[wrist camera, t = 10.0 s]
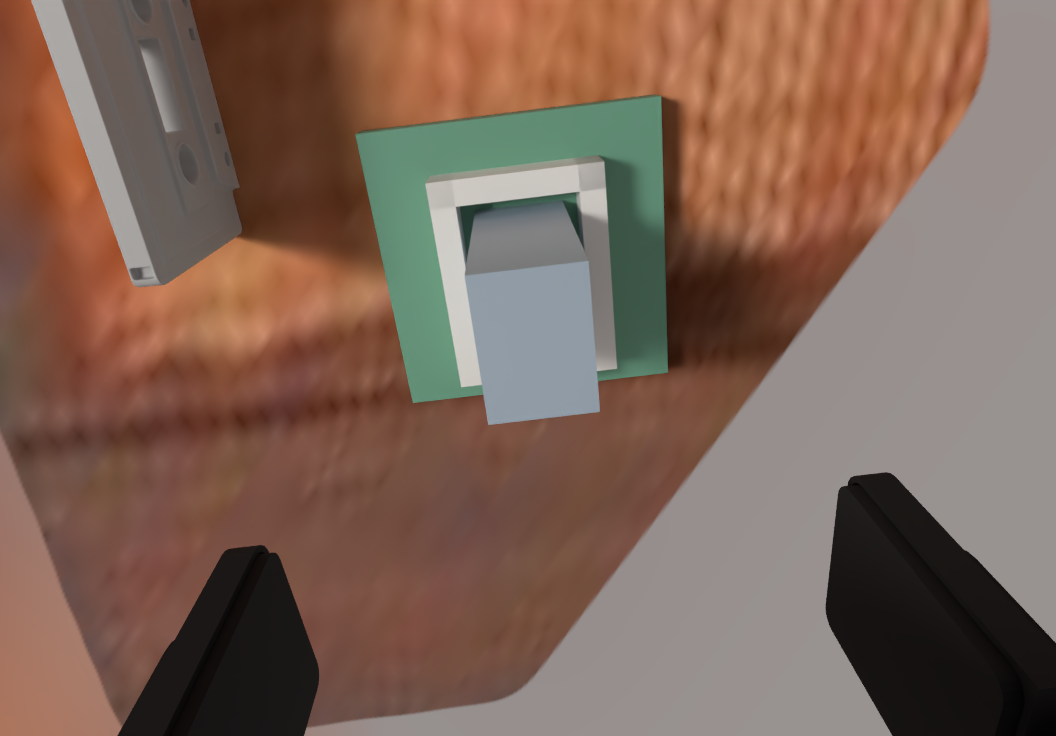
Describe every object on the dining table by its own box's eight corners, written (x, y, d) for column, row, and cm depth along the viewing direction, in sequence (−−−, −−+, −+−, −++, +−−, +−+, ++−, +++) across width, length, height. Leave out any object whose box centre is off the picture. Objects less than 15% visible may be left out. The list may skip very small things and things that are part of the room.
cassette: (115, -97, 23) (-49, -163, 16) (167, -103, 23) (25, -170, 16) (213, 236, 28) (119, 294, 21) (255, 232, 28) (176, 288, 21)
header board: (361, 131, 27) (345, 139, 24) (654, 94, 27) (672, 98, 24) (415, 391, 32) (408, 422, 29) (662, 361, 32) (677, 390, 29)
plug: (475, 210, 27) (464, 276, 19) (561, 199, 27) (588, 260, 19) (494, 343, 30) (492, 451, 22) (573, 334, 30) (601, 438, 21)
